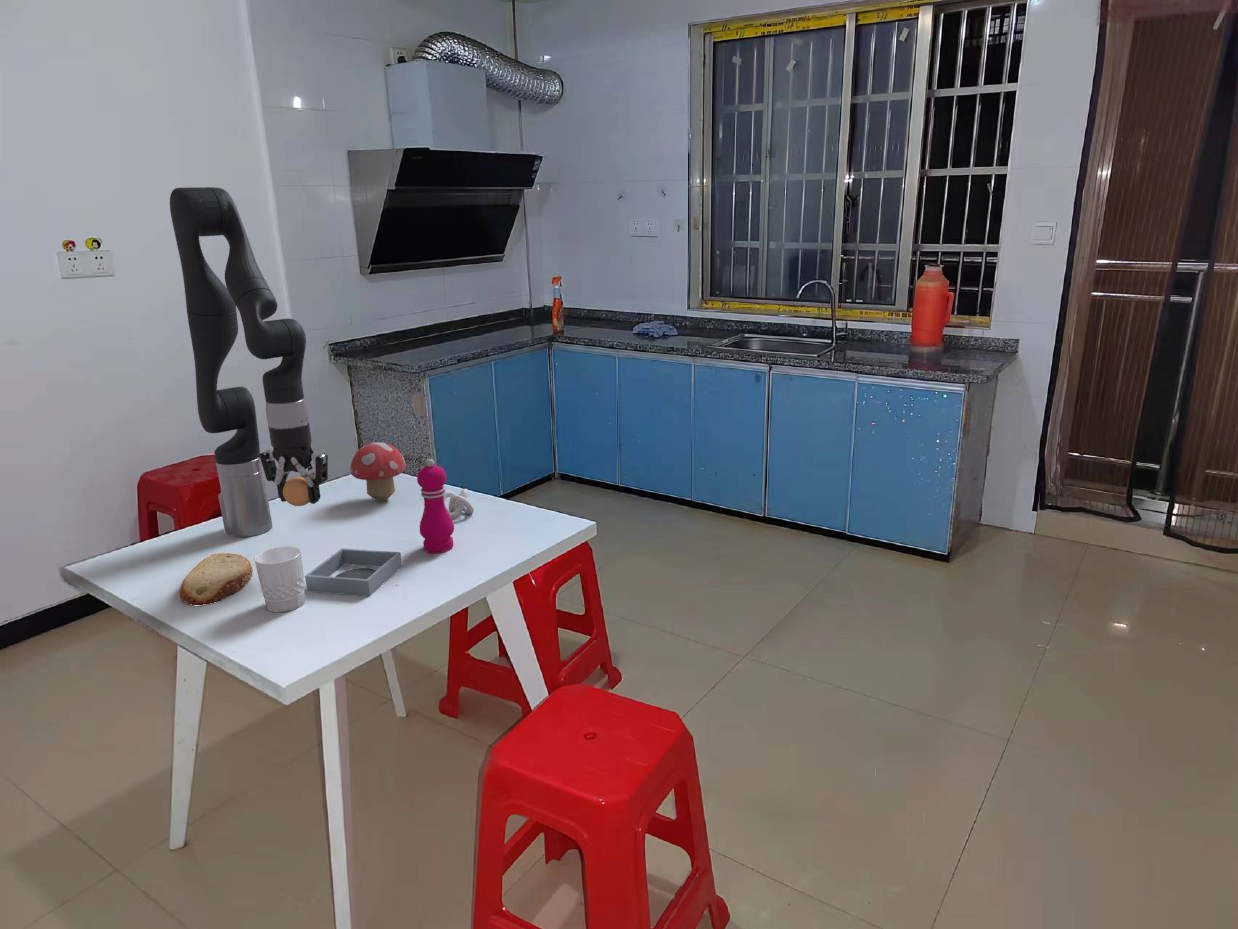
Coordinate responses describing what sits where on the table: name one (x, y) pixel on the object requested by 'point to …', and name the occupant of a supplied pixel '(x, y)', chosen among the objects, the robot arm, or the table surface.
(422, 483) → the pepper mill
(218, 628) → the table surface
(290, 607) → the white cup
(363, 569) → the pad
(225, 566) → the slice of bread
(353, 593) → the corral
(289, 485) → the ball
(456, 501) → the knot
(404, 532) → the table surface
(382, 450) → the decorative mushroom
